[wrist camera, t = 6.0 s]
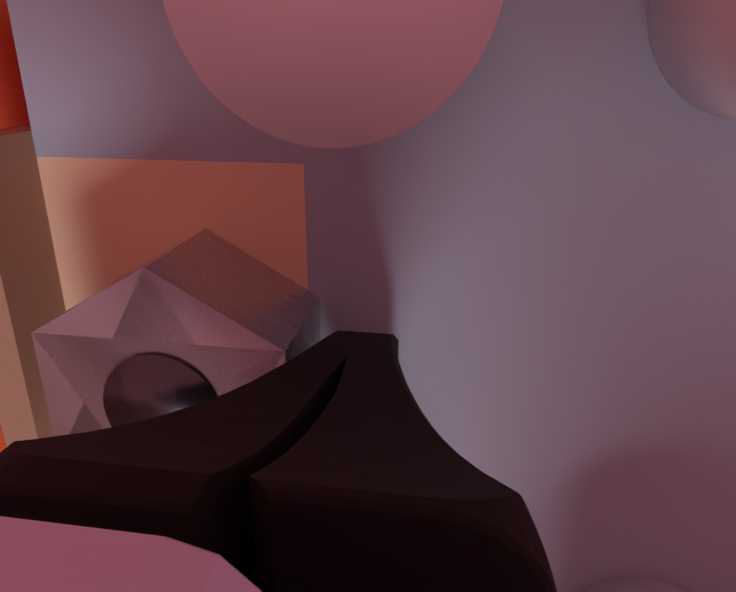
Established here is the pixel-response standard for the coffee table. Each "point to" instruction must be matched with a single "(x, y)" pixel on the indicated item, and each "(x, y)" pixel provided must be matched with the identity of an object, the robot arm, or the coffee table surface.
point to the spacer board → (428, 226)
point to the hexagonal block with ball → (171, 336)
